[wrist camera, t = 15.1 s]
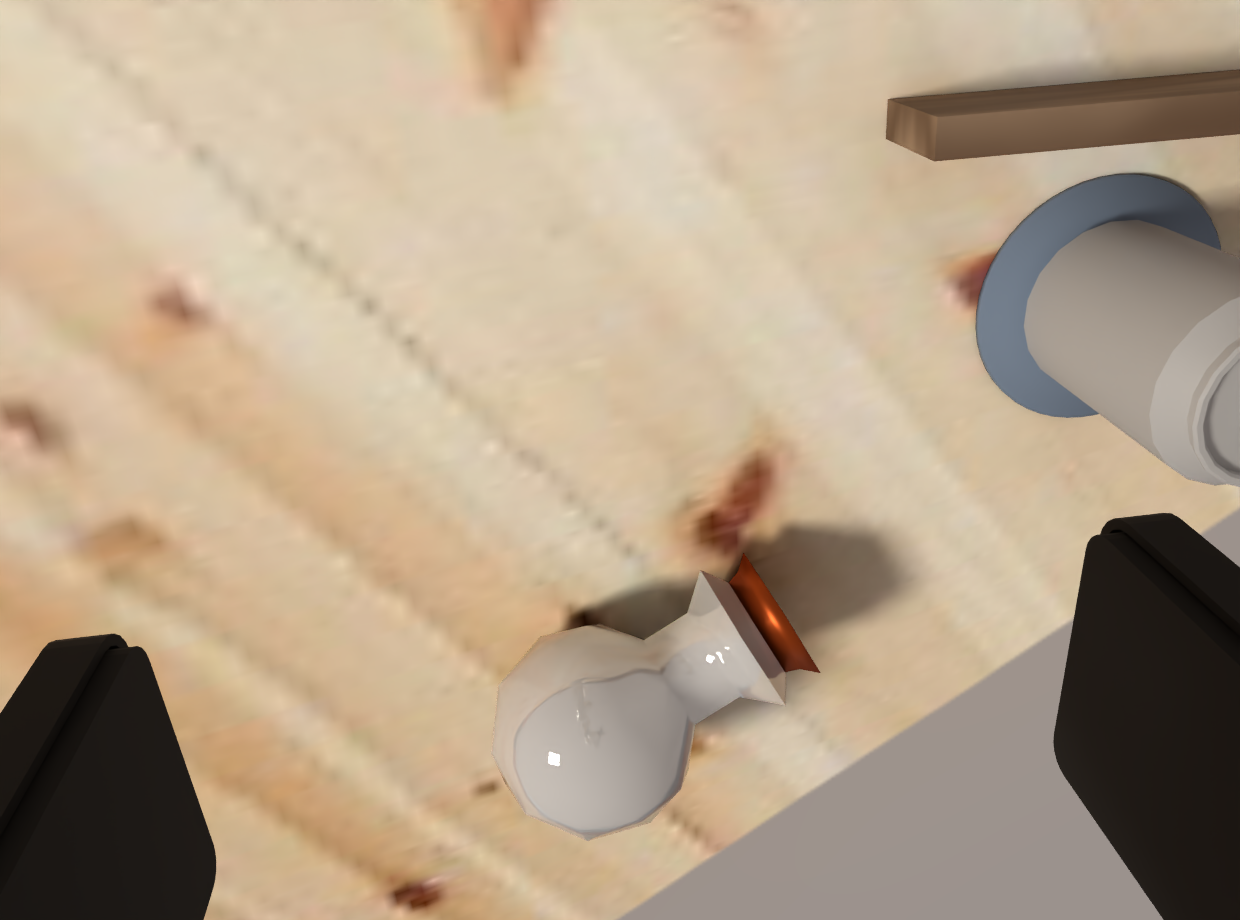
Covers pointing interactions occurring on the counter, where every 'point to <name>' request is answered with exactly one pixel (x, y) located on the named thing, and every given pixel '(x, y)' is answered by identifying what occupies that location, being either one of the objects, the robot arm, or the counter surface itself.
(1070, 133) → the low wall
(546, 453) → the counter surface
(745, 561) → the potion bottle
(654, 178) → the counter surface
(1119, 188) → the mat
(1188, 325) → the can
